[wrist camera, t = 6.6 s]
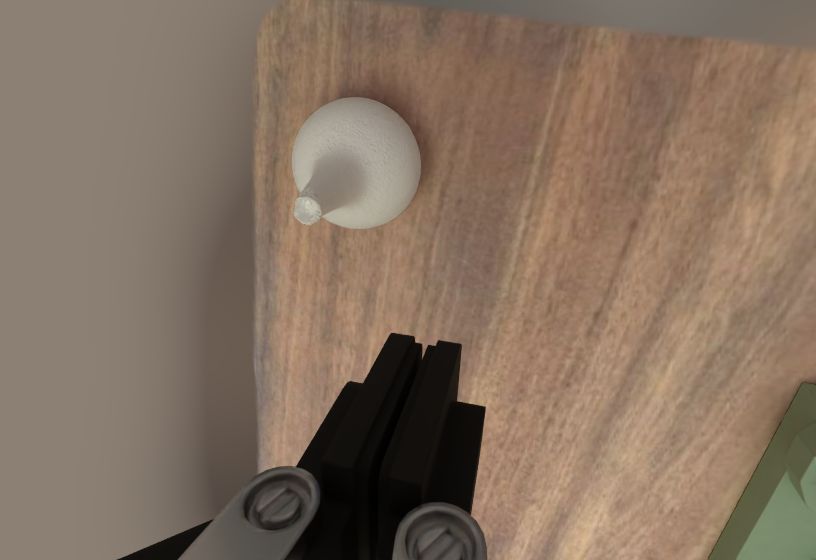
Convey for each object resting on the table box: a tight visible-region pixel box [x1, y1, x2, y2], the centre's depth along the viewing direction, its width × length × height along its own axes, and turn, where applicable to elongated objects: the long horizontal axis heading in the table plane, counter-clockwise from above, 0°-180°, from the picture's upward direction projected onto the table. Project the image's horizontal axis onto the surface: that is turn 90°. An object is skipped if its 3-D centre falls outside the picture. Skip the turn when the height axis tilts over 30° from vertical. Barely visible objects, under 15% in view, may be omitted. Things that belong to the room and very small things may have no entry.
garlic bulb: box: [292, 97, 421, 229], centre depth 20 cm, size 6×6×8 cm
